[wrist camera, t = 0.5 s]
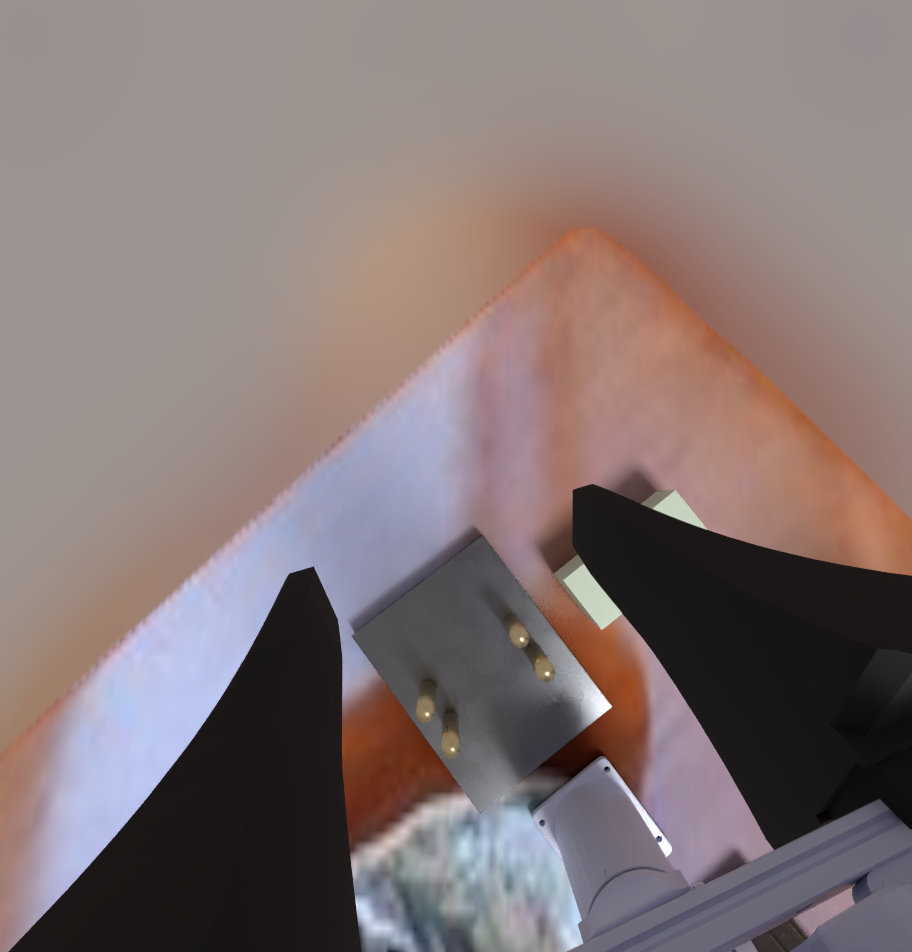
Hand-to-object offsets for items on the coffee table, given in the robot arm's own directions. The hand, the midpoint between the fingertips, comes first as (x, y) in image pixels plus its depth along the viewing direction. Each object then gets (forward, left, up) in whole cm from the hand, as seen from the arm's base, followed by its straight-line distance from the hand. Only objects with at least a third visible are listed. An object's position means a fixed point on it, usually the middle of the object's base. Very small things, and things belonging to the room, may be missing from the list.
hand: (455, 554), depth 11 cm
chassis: (-12, +6, -26) cm, 29 cm away
